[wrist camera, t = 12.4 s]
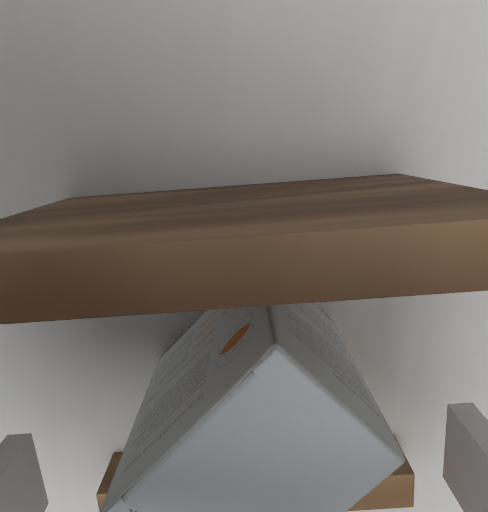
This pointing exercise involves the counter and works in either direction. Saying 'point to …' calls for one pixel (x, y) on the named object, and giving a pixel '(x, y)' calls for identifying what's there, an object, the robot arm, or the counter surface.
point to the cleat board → (246, 256)
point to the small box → (255, 421)
